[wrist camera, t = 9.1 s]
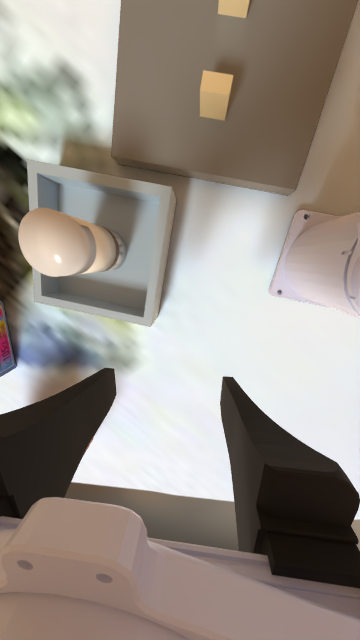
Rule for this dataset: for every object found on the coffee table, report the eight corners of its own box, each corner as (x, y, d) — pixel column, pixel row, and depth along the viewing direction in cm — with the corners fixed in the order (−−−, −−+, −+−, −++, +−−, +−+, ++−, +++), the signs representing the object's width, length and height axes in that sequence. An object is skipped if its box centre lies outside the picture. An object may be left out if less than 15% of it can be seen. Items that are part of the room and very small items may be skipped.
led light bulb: (130, 234, 19) (83, 216, 11) (123, 275, 20) (77, 284, 13) (90, 223, 19) (17, 199, 11) (86, 265, 20) (18, 267, 13)
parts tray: (176, 199, 18) (171, 186, 15) (157, 316, 22) (150, 326, 19) (57, 176, 19) (27, 159, 16) (58, 295, 23) (34, 301, 19)
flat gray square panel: (362, -37, 13) (428, -157, 9) (287, 195, 18) (312, 177, 14) (135, -69, 14) (110, -195, 10) (118, 163, 18) (96, 138, 14)
